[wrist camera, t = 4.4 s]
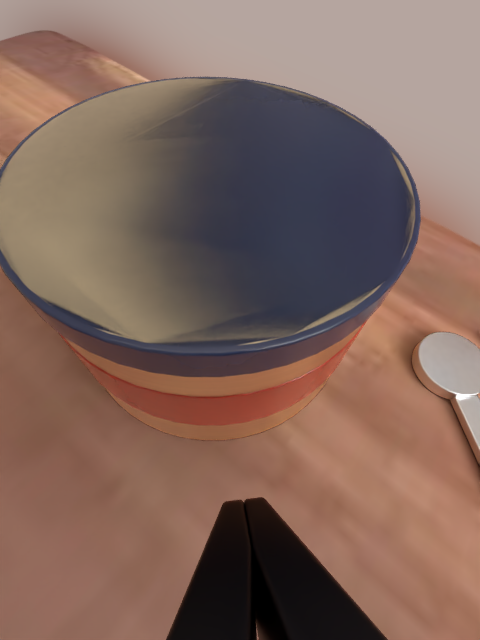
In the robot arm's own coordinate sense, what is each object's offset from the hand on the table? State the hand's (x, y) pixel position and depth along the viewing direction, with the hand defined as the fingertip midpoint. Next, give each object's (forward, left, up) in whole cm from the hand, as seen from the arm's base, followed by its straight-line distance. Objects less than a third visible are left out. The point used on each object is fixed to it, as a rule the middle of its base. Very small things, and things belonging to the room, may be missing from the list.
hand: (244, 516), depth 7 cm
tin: (+9, -5, -8) cm, 13 cm away
